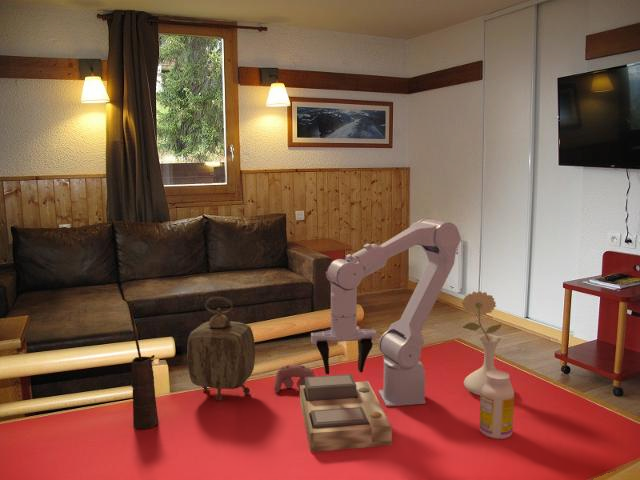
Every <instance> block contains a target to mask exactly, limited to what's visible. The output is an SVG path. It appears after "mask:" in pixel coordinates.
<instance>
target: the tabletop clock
mask: <svg viewBox="0 0 640 480" xmlns="http://www.w3.org/2000/svg"><path fill="white" fill-rule="evenodd" d="M215 300H219V301H224V302H226V303H228V305H230V309H228V310H225V311H222V308H221V307H218V308H216V310H213V309H210V308H209V307H208V303H209V302H210V301H215ZM204 307H205V310H206V311H208V312H209V313H211V314H212V315H213V314H214V315H213V316H212V317H211V318H210V319H209V321H206V322H202V323H201V324H200V325H199V326H198V327H196V328H195V329H194V330H192V331H191V332H190V333H189V336H188V338H187V345H186V351H187V352H186V354H187V355H186V359H187V367H188V368H187V369H188V374H189V378H190V381H191V384H192V385H196V386H198V387H201V388H202V390H203V391H208V390H209V388H211V389H217V394H216V396H214V397H215V401H216V402H221V401H222V400H223V395H222V394H221V391H222V390H234V389H238V388H242V389H243V393H244V394H245V395H248V394H250V392H251V390H250V388H249V387H248V386H245V385H244V384H245V383H246V381H247V380H248V379H249V378H250V376H251V375H252V374H253V371H254V369H255V364H256V363H255V362H256V361H255V360H256V345H255V338H254V333H253V330H252V327H251V325H248V324H246V323H243V322H241V321H233V320H232V321H231V320H230V319H229V317H228V316H226V314H229V313H231V311H232V310H233V308H234V305H233V303H232V301H231V300H230V299H228V298H226V297H223V296H212V297H209V298H207V300H205V303H204ZM207 387H209V388H207ZM203 388H204V389H203Z"/></svg>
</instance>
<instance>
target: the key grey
mask: <svg viewBox="0 0 640 480" xmlns="http://www.w3.org/2000/svg"><path fill="white" fill-rule="evenodd" d="M355 382H356V381H355V378H354V377H353V374H352V373H351V374H348V373H347V374H333V375H332V374H331V375H320V376H319V375H316V376H315V375H314V377H305V394H306V398H307V401H319V400H334V399H349V398H356V383H355Z"/></svg>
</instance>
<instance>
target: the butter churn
mask: <svg viewBox="0 0 640 480" xmlns="http://www.w3.org/2000/svg"><path fill="white" fill-rule="evenodd" d="M127 305H128V310H129V316H130V322H131V325H132V330H133V331H132V332H133V336H134V341H135V345H136V349H137V356H135V357H134V358H133V359H132V361H131V388H132V420H133V421H132V423H133V427H134V428H135V429H137V430H146V429H148V428H153V427H155V426H156V425H157V424H158V423H159V417H158V416H159V415H158V407H157V401H156V399H157V398H156V390H155V389H156V388H155V375H154V370H153V363H152V362H153V360H152V359H154V358H155V357H156V356H155V355H154V354H153V355H151V356H142V354H141V350H140V349H141V348H140V344H139V343H140V342H139V340H138V339H139V338H138V334H137V330H136V329H137V328H136V323H135V317H134V314H133V310H132V305H131V301H130V300H127Z"/></svg>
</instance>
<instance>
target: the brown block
mask: <svg viewBox="0 0 640 480" xmlns="http://www.w3.org/2000/svg"><path fill="white" fill-rule="evenodd" d="M311 424H312V428H313V429H315V428H329V427H342V426H356V425H368V420H367V418H366V415H365V413H364V411H363V409H362V407H355V408H341V409H327V410H313V411H311Z"/></svg>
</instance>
